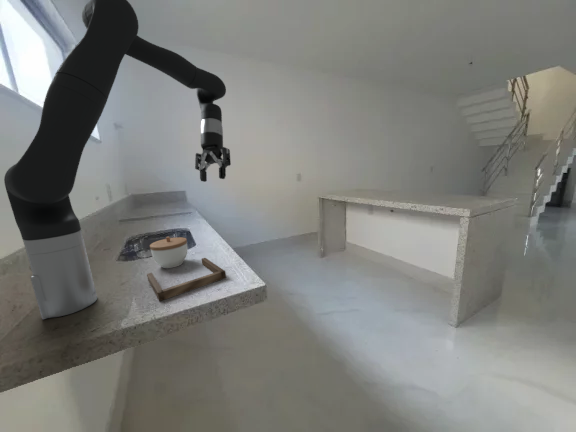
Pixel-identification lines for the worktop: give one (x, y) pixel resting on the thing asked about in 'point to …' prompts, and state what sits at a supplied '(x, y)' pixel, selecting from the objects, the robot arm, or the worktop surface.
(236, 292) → the worktop surface
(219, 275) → the walnut bay
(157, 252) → the lidded jar
